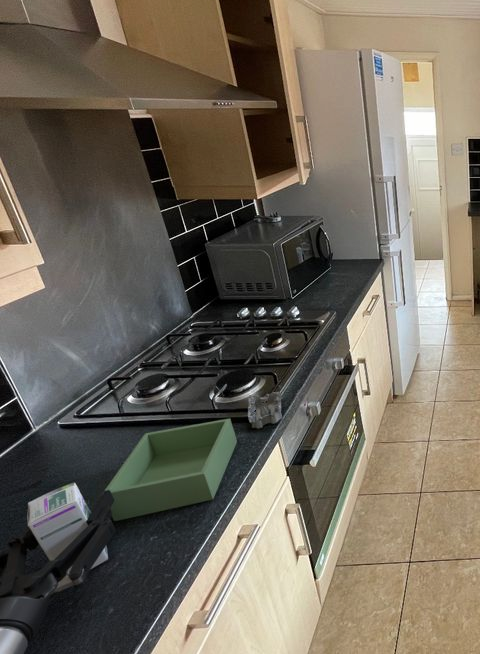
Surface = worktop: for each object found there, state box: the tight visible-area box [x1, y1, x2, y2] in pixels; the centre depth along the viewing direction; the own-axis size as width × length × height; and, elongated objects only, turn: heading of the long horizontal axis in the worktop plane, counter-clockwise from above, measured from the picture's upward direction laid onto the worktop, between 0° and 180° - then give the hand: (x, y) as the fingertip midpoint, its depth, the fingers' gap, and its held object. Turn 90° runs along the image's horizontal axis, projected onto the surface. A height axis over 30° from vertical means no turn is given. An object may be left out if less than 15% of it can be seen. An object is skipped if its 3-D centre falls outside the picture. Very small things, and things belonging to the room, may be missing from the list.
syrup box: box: [26, 482, 109, 579], centre depth 70 cm, size 6×6×14 cm
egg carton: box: [247, 391, 283, 429], centre depth 108 cm, size 11×8×4 cm
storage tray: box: [104, 418, 238, 522], centre depth 89 cm, size 17×17×7 cm
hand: (81, 503), depth 74 cm, fingers closed on syrup box, 7 cm apart
